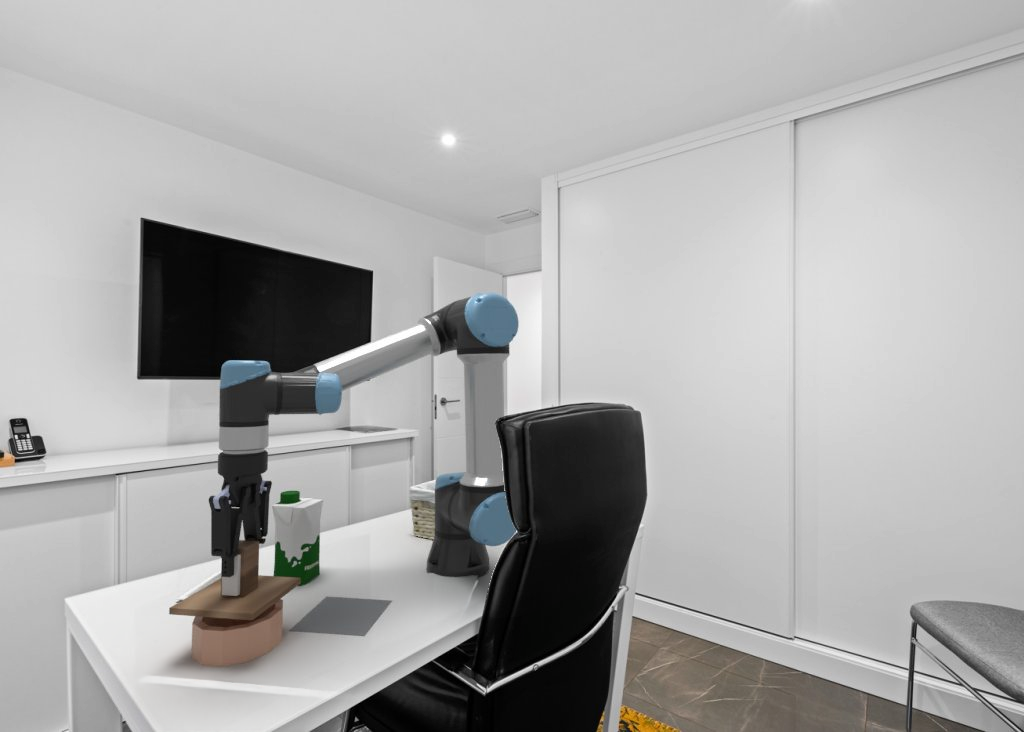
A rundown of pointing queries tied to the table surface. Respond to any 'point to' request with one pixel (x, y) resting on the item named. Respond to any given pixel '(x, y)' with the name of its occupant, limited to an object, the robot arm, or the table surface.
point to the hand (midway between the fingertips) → (240, 588)
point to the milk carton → (297, 536)
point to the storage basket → (423, 509)
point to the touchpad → (201, 585)
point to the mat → (342, 616)
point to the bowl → (236, 637)
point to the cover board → (235, 605)
